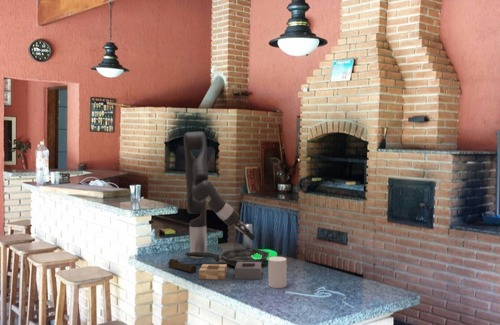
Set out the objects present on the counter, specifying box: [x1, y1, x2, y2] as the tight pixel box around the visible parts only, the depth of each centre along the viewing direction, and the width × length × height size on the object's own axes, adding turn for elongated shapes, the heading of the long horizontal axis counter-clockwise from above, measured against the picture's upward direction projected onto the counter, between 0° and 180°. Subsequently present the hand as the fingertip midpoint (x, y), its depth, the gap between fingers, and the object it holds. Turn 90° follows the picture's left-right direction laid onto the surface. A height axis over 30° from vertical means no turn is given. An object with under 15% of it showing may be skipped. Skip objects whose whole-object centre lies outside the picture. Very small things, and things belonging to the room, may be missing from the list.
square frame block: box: [198, 263, 228, 280], centre depth 243 cm, size 12×12×4 cm
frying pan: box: [185, 248, 270, 267], centre depth 264 cm, size 44×25×7 cm, turn 95°
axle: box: [243, 223, 253, 250], centre depth 242 cm, size 4×4×12 cm
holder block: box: [234, 262, 262, 280], centre depth 243 cm, size 12×12×5 cm
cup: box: [267, 256, 288, 289], centre depth 227 cm, size 8×8×12 cm
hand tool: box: [168, 258, 198, 274], centre depth 254 cm, size 19×4×5 cm, turn 47°
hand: (252, 237), depth 242 cm, fingers closed on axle, 4 cm apart
